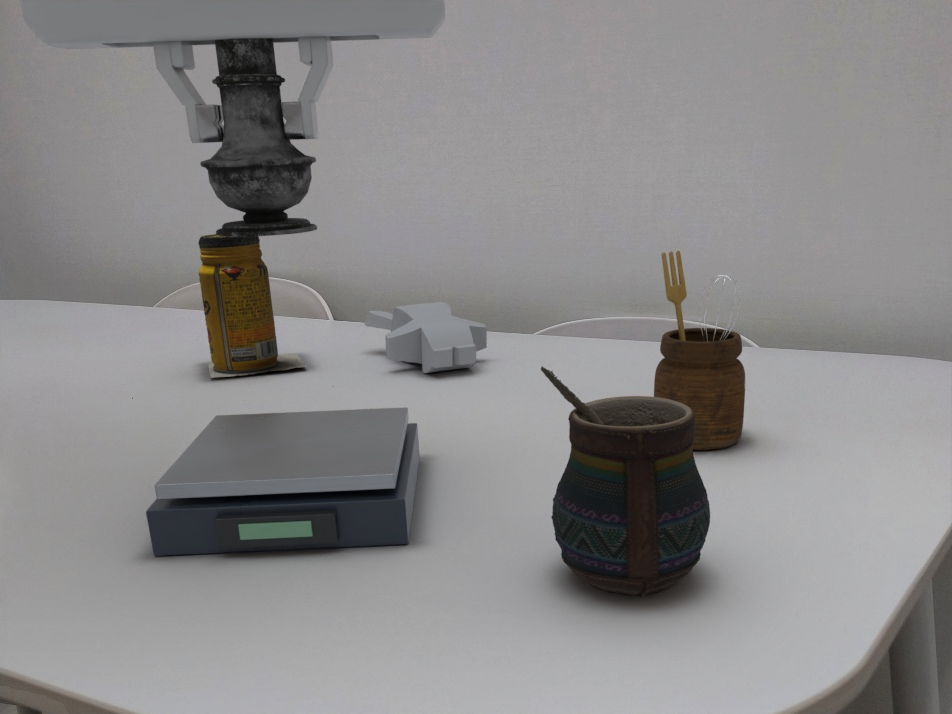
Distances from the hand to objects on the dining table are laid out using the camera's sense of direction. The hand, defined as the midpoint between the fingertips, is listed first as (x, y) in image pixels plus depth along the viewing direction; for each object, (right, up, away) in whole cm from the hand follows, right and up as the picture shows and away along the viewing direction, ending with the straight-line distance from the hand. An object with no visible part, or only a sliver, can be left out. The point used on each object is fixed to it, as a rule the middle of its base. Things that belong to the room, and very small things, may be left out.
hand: (256, 141), depth 50 cm
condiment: (-11, -6, +40) cm, 42 cm away
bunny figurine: (+5, -5, +41) cm, 42 cm away
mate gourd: (+19, -22, -4) cm, 29 cm away
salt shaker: (0, -4, +2) cm, 5 cm away
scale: (+1, -19, +6) cm, 20 cm away
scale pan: (+1, -16, +5) cm, 17 cm away
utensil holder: (+26, -14, +15) cm, 33 cm away
